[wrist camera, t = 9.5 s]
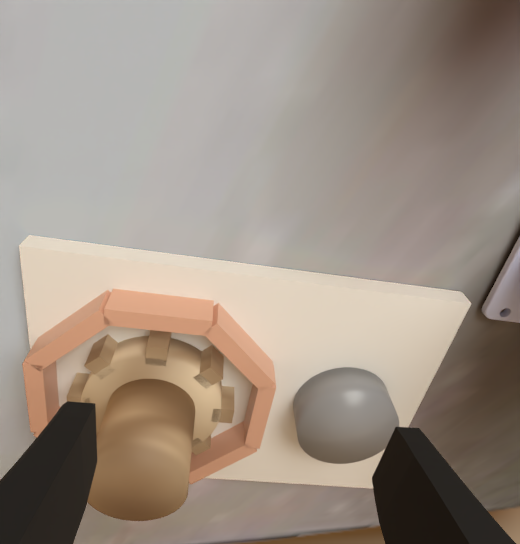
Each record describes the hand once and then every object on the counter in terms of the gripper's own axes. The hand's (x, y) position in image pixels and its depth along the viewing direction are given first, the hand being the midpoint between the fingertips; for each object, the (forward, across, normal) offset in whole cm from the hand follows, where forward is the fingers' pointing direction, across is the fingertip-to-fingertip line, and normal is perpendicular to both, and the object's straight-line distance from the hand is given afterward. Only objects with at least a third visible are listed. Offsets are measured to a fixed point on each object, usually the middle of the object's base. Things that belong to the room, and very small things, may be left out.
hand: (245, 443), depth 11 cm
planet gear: (+9, +3, +8) cm, 12 cm away
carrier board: (+10, -1, +8) cm, 13 cm away
